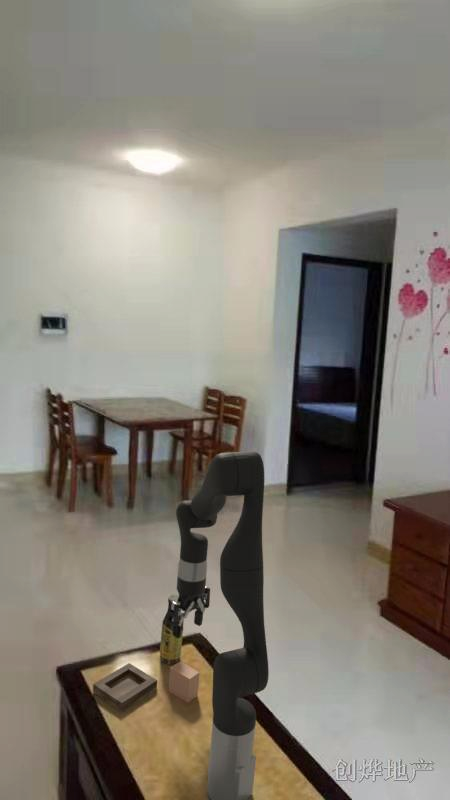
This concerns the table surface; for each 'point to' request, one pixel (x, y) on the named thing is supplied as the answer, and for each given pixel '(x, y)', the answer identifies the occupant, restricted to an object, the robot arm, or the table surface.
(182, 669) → the key block
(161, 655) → the sauce bottle
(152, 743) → the table surface
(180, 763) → the table surface
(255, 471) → the robot arm
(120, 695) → the cradle
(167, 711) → the table surface
